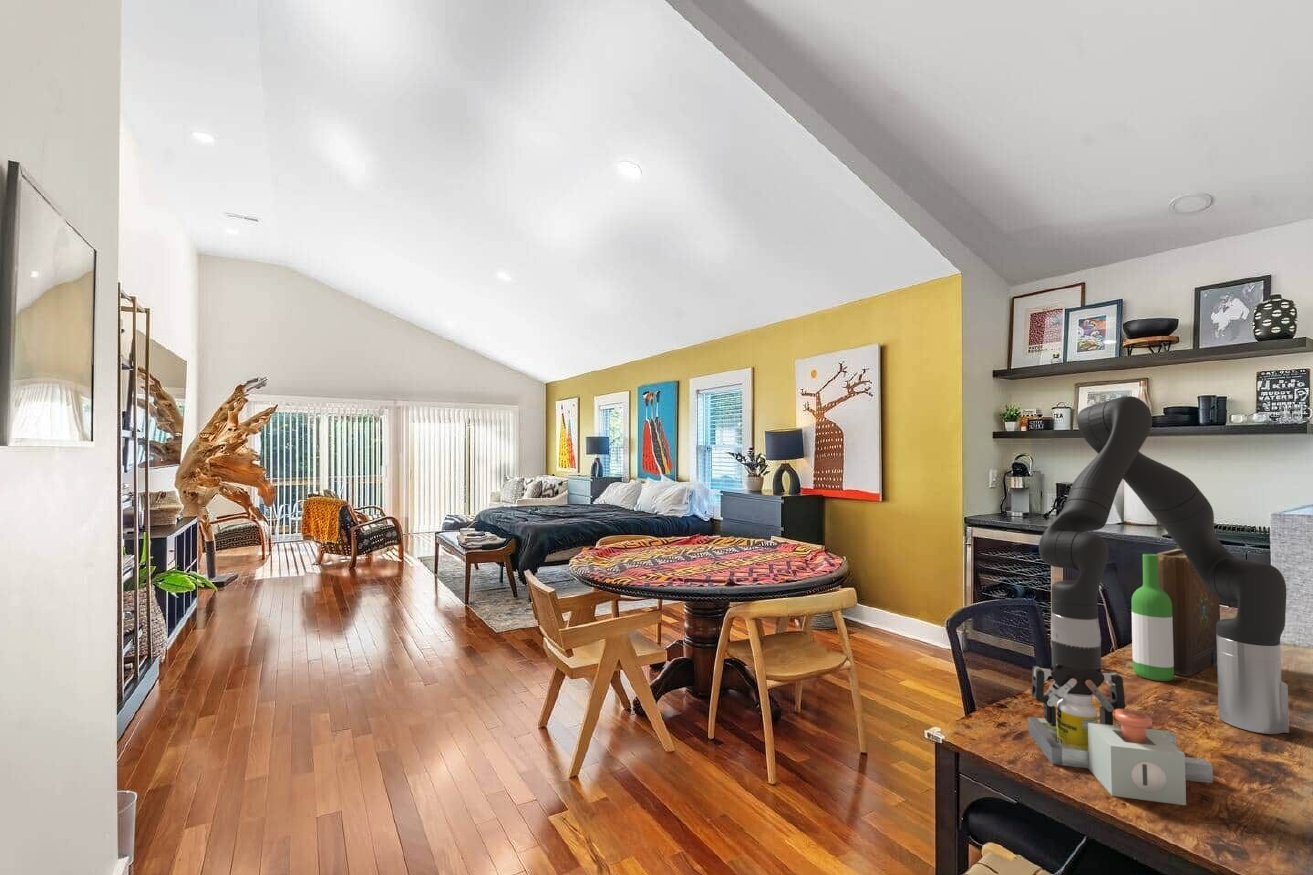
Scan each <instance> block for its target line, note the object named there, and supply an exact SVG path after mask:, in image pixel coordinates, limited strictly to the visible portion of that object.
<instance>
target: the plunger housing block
mask: <svg viewBox="0 0 1313 875" xmlns="http://www.w3.org/2000/svg"><path fill="white" fill-rule="evenodd" d="M1156 730H1157V729H1152V728H1146V743H1145V744H1138V743H1132V742H1129V741H1126V740H1124V739H1123V738H1122V737H1121V725H1114V724H1113V725H1105V724H1100V723H1098V724H1095V723H1088V759H1089V769H1088V770H1089V771H1090V772H1091V773H1092V775H1094V777H1095V778H1096V779H1097V780H1098V782H1099V783H1100V785H1102V786H1103V788H1104V789H1105V790H1106V791H1107V792H1108V793H1109V794H1110V796H1111V797H1118V798H1126V799H1134V800H1142V801H1148V802H1156V803H1162V804H1163V803H1164V804H1172V805H1180V806H1187V790H1186V787H1187V786H1186V785H1187V784H1186V781H1187V780H1185V757H1186V755H1185V752H1183V751H1182V750H1181V749H1179V748H1178V747H1177V745H1176V746H1175V745H1173V744H1172V743H1171V742H1170V741H1169V740H1167V739H1166V738H1165V737H1164V736H1162V735H1161V734H1160V733H1159V732H1158V731H1156Z"/></svg>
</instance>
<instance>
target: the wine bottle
mask: <svg viewBox="0 0 1313 875" xmlns="http://www.w3.org/2000/svg"><path fill="white" fill-rule="evenodd" d="M1156 554H1157V553H1156ZM1156 554H1154V553H1143V554H1142V585H1141V586H1140V587H1139V588H1137V589H1136V590H1135V591H1134V592H1133V594H1132V595H1131V640H1132V641H1131V644H1132V645H1131V646H1132V652H1131V653H1132V669H1133V672H1134V673H1135V674H1136V675H1137V676H1139V677H1141V678H1144V679H1147V680H1151V681H1156V682H1157V681H1158V682H1170V681H1171V680H1173V678H1174V675H1175V674H1174V657H1173V621H1172V603H1171V600H1170V598H1169V596H1168V595H1167V594H1166V593H1165V592H1164V591H1163V590H1161V589H1160V587H1159V573H1158V555H1156Z"/></svg>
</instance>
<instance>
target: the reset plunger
mask: <svg viewBox="0 0 1313 875" xmlns="http://www.w3.org/2000/svg"><path fill="white" fill-rule="evenodd" d="M1114 718H1115V720H1116V721H1118V722H1120V726H1121V737H1122V738H1123V739H1124V740H1126V741H1129V742H1132V743H1138V744H1145V743H1146V729H1150V728H1152V726H1153V719H1152V716H1150V715H1148V714H1146V713H1145V712H1141V711H1137V710H1135V709H1129V708H1124V709H1120V708H1119V709H1115V710H1114Z"/></svg>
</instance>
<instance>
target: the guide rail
mask: <svg viewBox="0 0 1313 875" xmlns="http://www.w3.org/2000/svg"><path fill="white" fill-rule="evenodd" d="M1155 730H1156V731H1158V732H1159V733H1160V734H1161V735H1162V736H1164V737H1165V738H1166V739H1167V740H1169V741H1170V742H1171V743H1172V744H1173V745H1175V746H1176V747H1177V736H1176V735H1175V734H1174V733H1173V732H1171V731H1169V730H1162V729H1161V730H1159V729H1155ZM1027 733H1028V734H1029V735H1030V737H1031V738H1032V739H1033V741H1034V742H1035V743H1036V745H1037V746H1038V748H1039V749H1040V750H1041V752H1042V753H1043V754H1044V756H1045V757H1046V758H1047V759H1048V761H1049V763H1051V764H1052V765H1056V766H1064V767H1074V768H1079V769H1081V768H1082V769H1088V770H1089V759H1088V746H1081V745H1072V744H1063V743H1057V719H1056V727H1054V726H1051V725H1050V724H1049V723H1048V722H1047V721H1046V720H1045V718H1044V717H1043V718H1042V717H1041V718H1040V717H1032V716H1027ZM1213 776H1214V774H1213V764H1211V763H1210V762H1209V761H1208V760H1206V759H1204V758H1197V757H1188V756H1185V780H1186V781H1189V782H1190V781H1191V782H1197V783H1206V784H1214V782H1213V781H1214V779H1213V778H1214V777H1213Z"/></svg>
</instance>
